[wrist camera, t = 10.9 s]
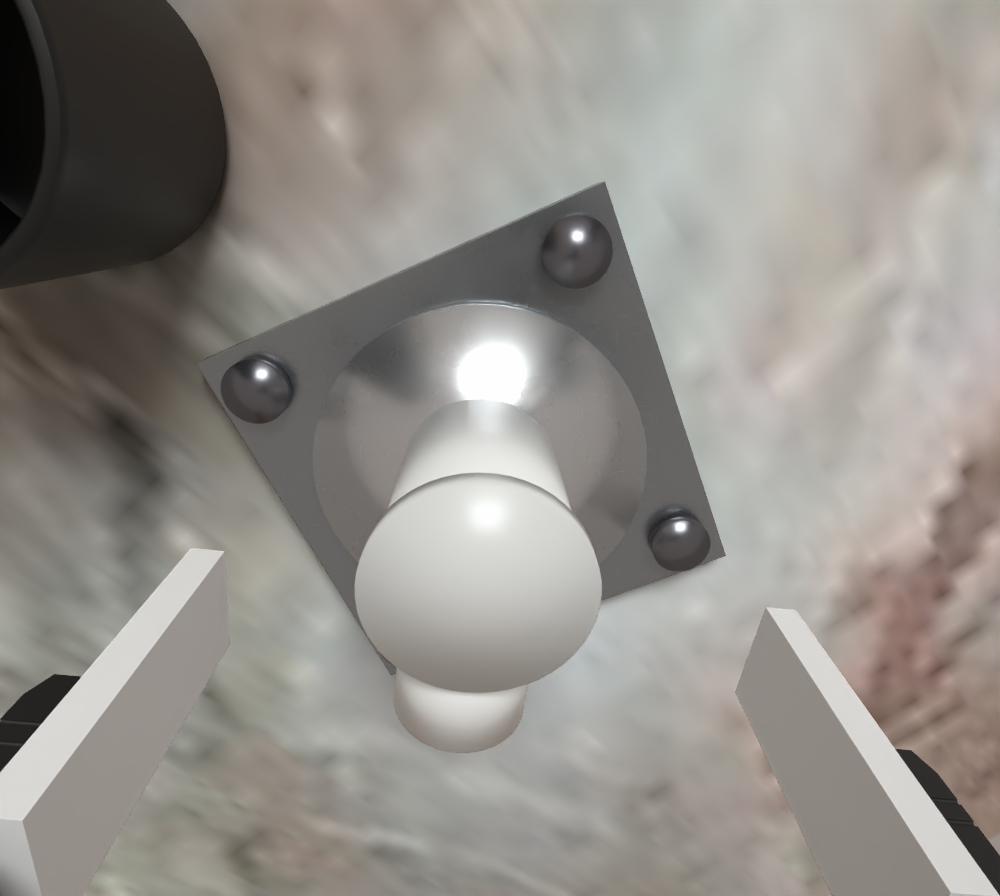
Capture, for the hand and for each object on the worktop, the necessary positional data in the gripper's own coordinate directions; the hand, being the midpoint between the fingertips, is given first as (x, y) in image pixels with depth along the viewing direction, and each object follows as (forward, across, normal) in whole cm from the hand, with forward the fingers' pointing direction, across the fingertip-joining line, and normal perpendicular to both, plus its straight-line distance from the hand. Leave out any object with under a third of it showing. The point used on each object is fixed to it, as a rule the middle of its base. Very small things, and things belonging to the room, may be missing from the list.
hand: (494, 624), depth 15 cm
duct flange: (+11, 0, 0) cm, 11 cm away
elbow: (+9, 0, -2) cm, 10 cm away
